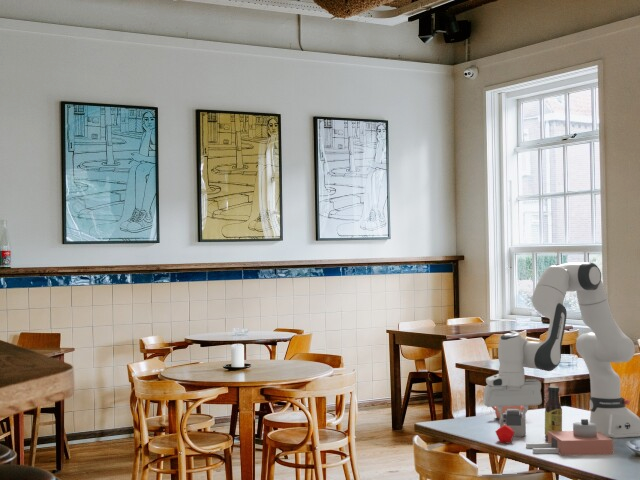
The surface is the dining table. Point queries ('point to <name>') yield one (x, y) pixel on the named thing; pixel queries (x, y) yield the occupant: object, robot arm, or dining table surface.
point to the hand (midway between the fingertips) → (513, 418)
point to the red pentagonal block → (505, 434)
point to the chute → (513, 417)
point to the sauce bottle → (553, 412)
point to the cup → (517, 427)
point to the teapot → (506, 410)
